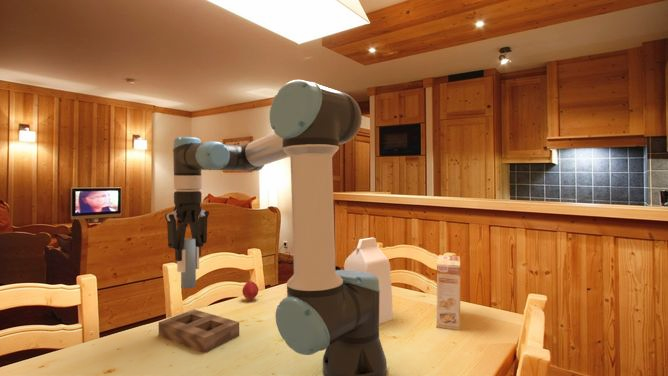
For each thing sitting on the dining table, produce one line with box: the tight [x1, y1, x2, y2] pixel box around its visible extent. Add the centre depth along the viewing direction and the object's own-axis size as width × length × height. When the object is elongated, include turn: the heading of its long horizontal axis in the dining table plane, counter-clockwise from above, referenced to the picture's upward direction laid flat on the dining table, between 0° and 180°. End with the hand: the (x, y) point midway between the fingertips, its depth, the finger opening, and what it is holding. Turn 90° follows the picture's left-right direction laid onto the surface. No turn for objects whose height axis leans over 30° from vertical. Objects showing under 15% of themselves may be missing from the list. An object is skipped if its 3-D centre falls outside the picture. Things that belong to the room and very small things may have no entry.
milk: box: [343, 237, 394, 325], centre depth 115 cm, size 12×12×26 cm
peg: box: [180, 237, 197, 290], centre depth 105 cm, size 4×4×14 cm
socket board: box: [158, 308, 240, 354], centre depth 103 cm, size 20×12×4 cm, turn 59°
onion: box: [241, 279, 259, 302], centre depth 133 cm, size 6×6×8 cm
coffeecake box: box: [436, 254, 462, 331], centre depth 114 cm, size 15×7×20 cm, turn 161°
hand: (188, 269), depth 105 cm, fingers closed on peg, 4 cm apart
